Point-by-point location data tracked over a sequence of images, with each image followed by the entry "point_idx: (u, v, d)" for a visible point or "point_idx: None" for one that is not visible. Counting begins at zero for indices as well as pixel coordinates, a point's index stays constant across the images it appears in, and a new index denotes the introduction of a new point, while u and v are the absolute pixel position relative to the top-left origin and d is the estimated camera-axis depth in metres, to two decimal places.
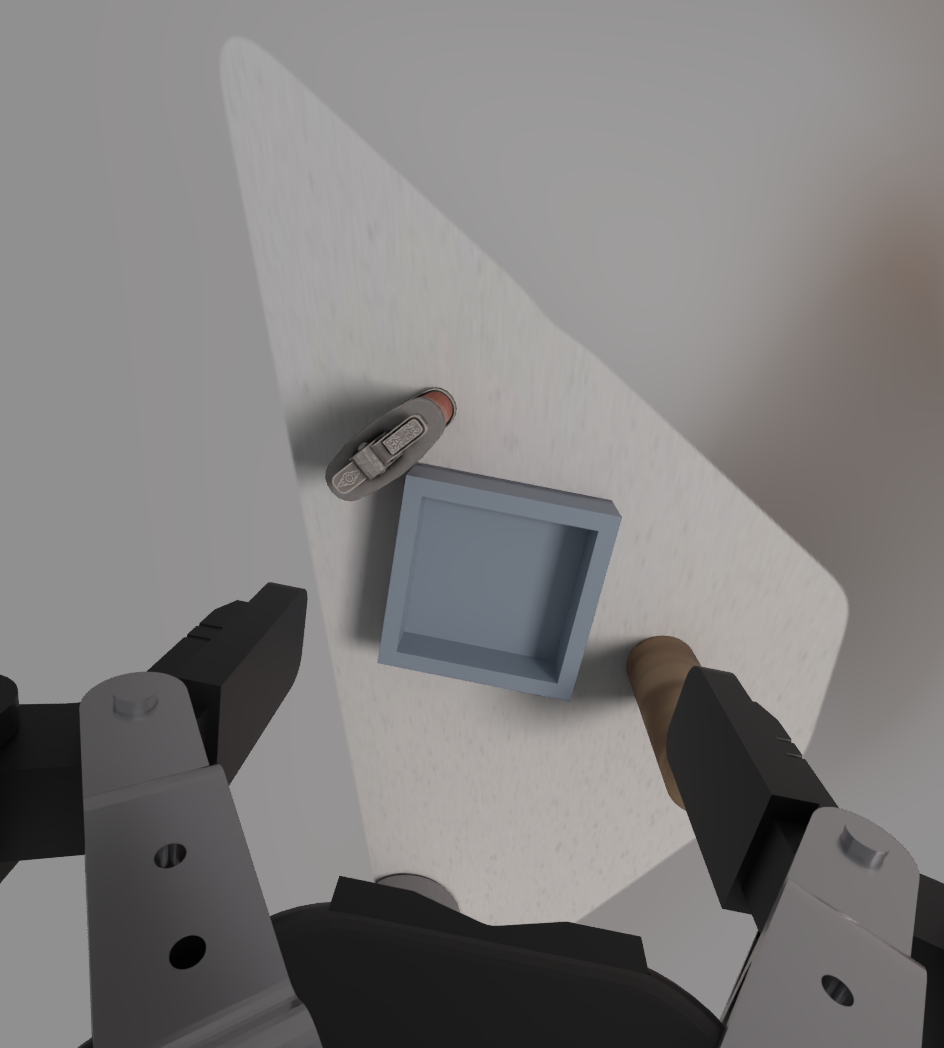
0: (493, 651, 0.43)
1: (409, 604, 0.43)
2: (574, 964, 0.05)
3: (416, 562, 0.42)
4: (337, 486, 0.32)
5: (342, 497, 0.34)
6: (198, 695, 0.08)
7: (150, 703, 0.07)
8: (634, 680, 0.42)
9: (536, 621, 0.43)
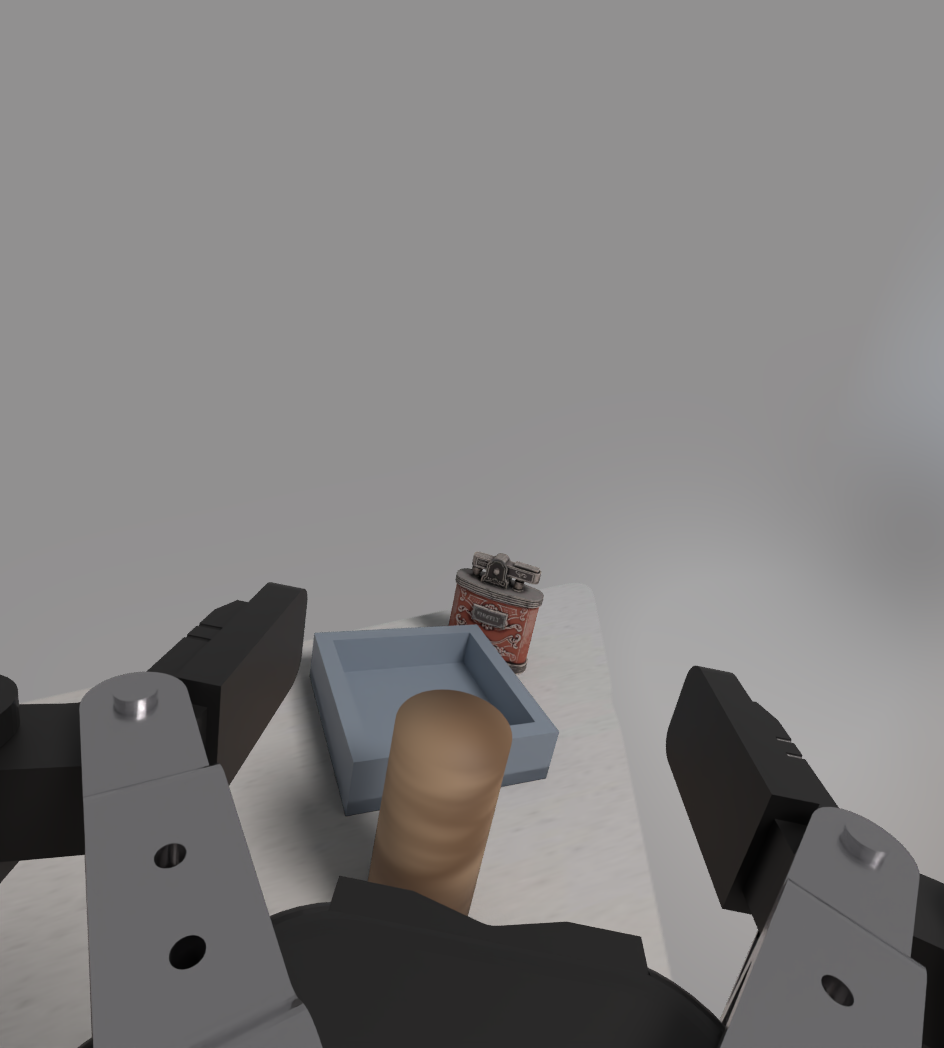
0: None
1: (358, 671, 0.46)
2: (574, 964, 0.05)
3: (399, 668, 0.48)
4: (476, 553, 0.52)
5: (458, 574, 0.52)
6: (198, 695, 0.08)
7: (150, 703, 0.07)
8: None
9: None
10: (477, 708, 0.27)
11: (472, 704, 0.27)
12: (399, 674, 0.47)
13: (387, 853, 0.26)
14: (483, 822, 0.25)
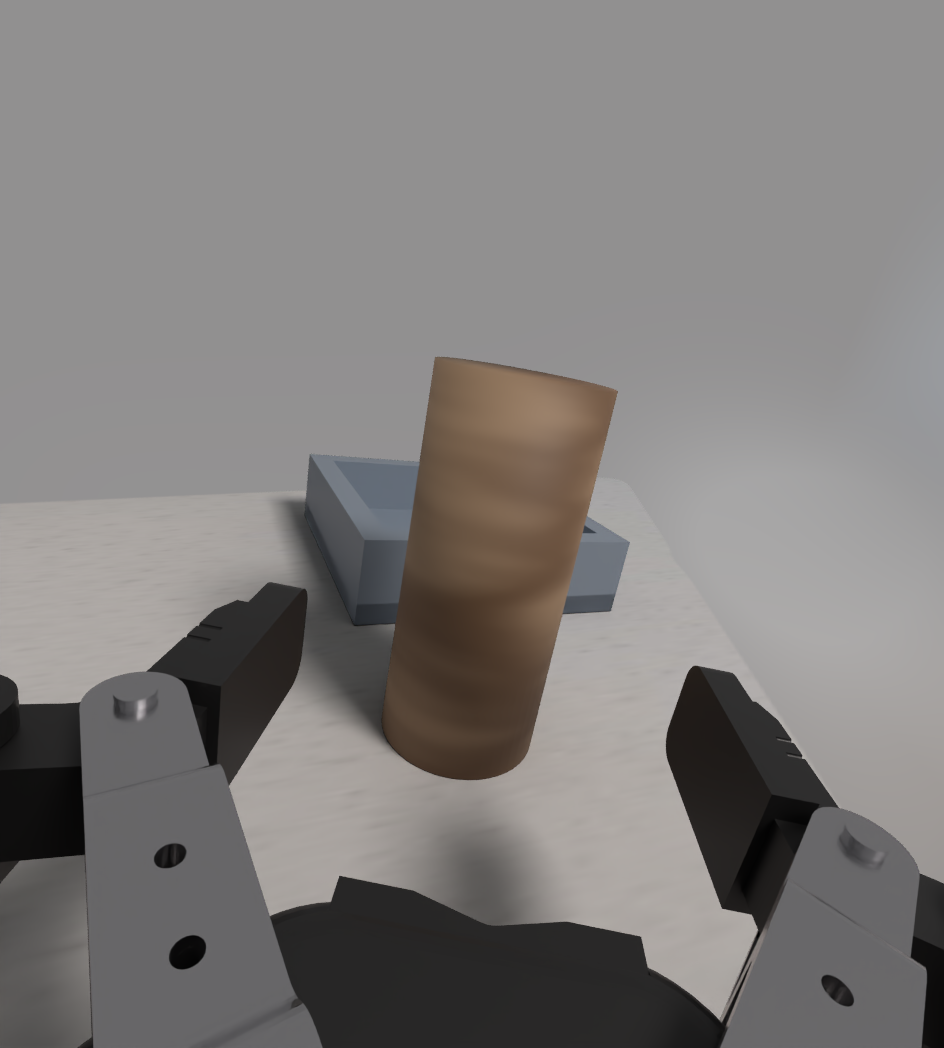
0: None
1: None
2: (573, 964, 0.05)
3: None
4: None
5: None
6: (198, 695, 0.08)
7: (149, 703, 0.07)
8: None
9: None
10: (554, 376, 0.18)
11: (546, 374, 0.18)
12: None
13: (423, 576, 0.16)
14: (575, 513, 0.16)
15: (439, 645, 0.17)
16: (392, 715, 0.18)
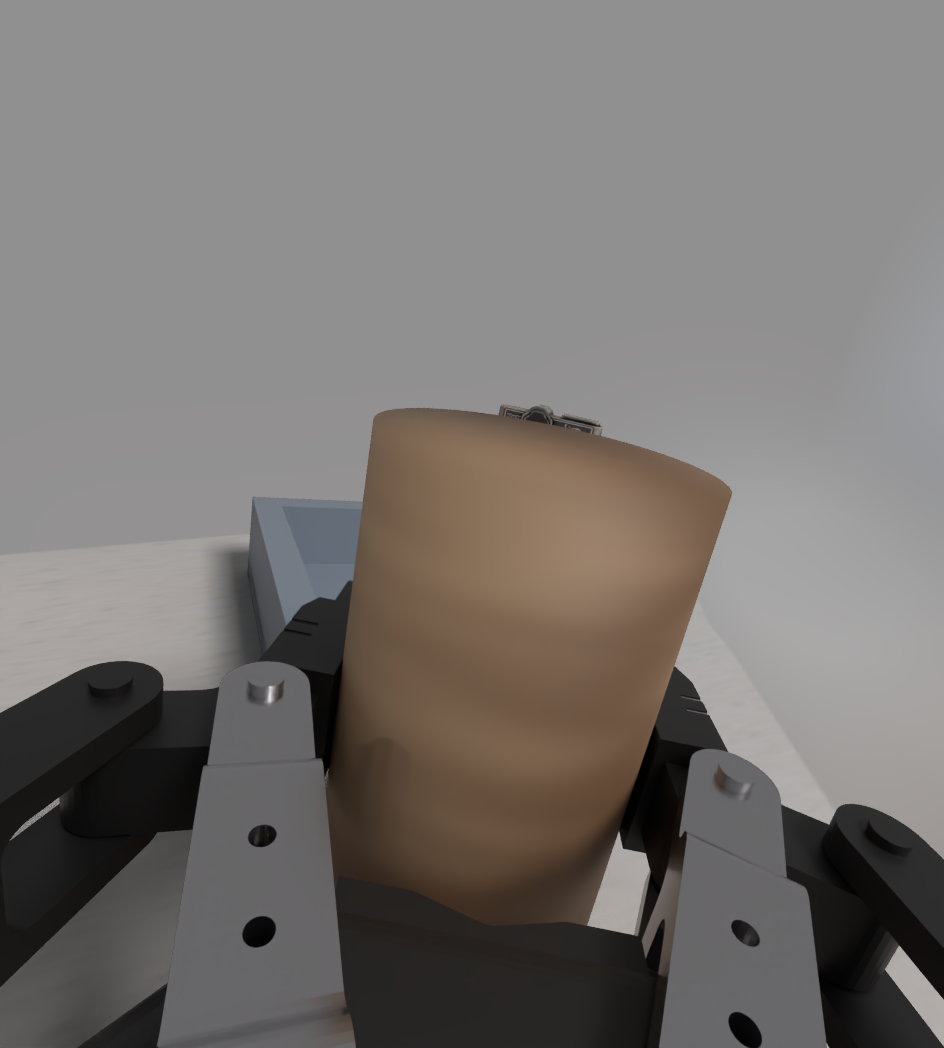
0: None
1: (324, 564, 0.29)
2: (574, 965, 0.05)
3: None
4: (503, 404, 0.35)
5: None
6: (312, 683, 0.09)
7: (276, 691, 0.08)
8: None
9: None
10: (596, 440, 0.10)
11: (580, 436, 0.10)
12: None
13: (352, 828, 0.09)
14: (646, 726, 0.08)
15: None
16: None
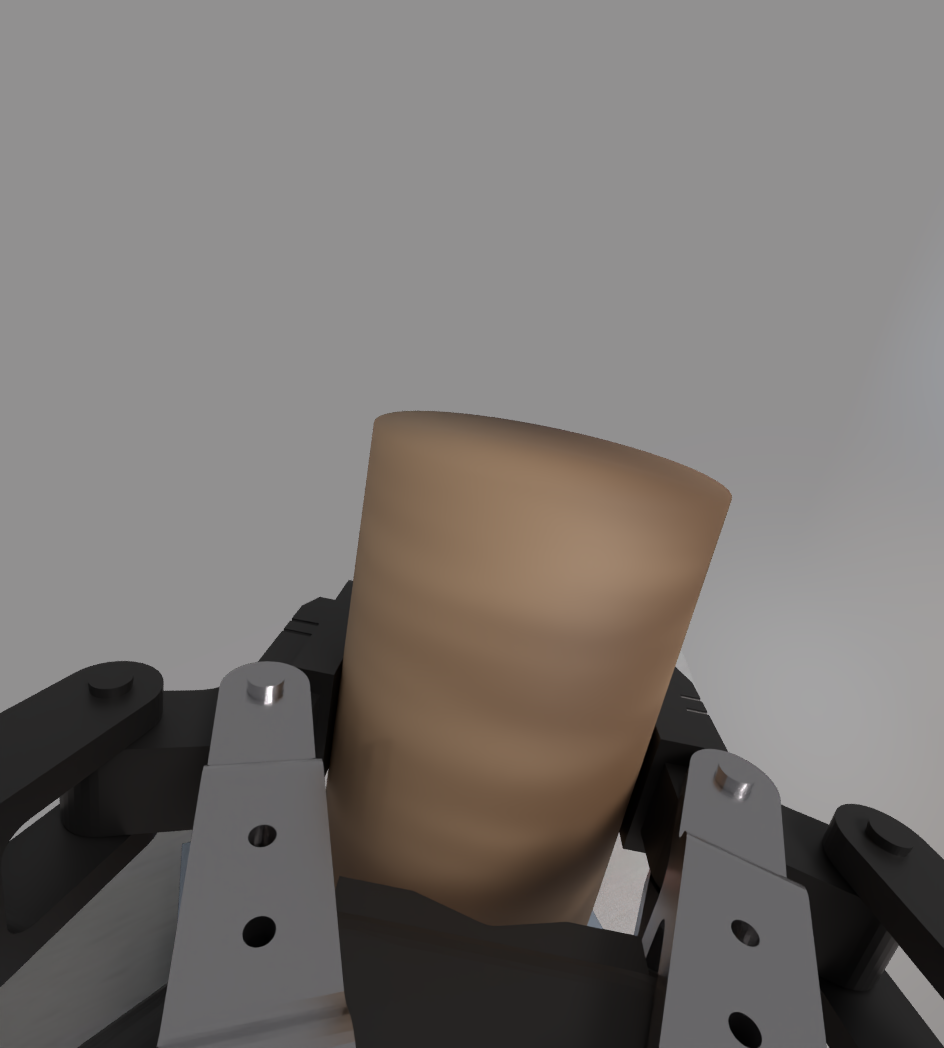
0: None
1: None
2: (574, 964, 0.05)
3: None
4: None
5: None
6: (312, 683, 0.09)
7: (275, 691, 0.08)
8: None
9: None
10: (596, 443, 0.10)
11: (580, 439, 0.10)
12: None
13: (352, 831, 0.09)
14: (646, 729, 0.08)
15: None
16: None
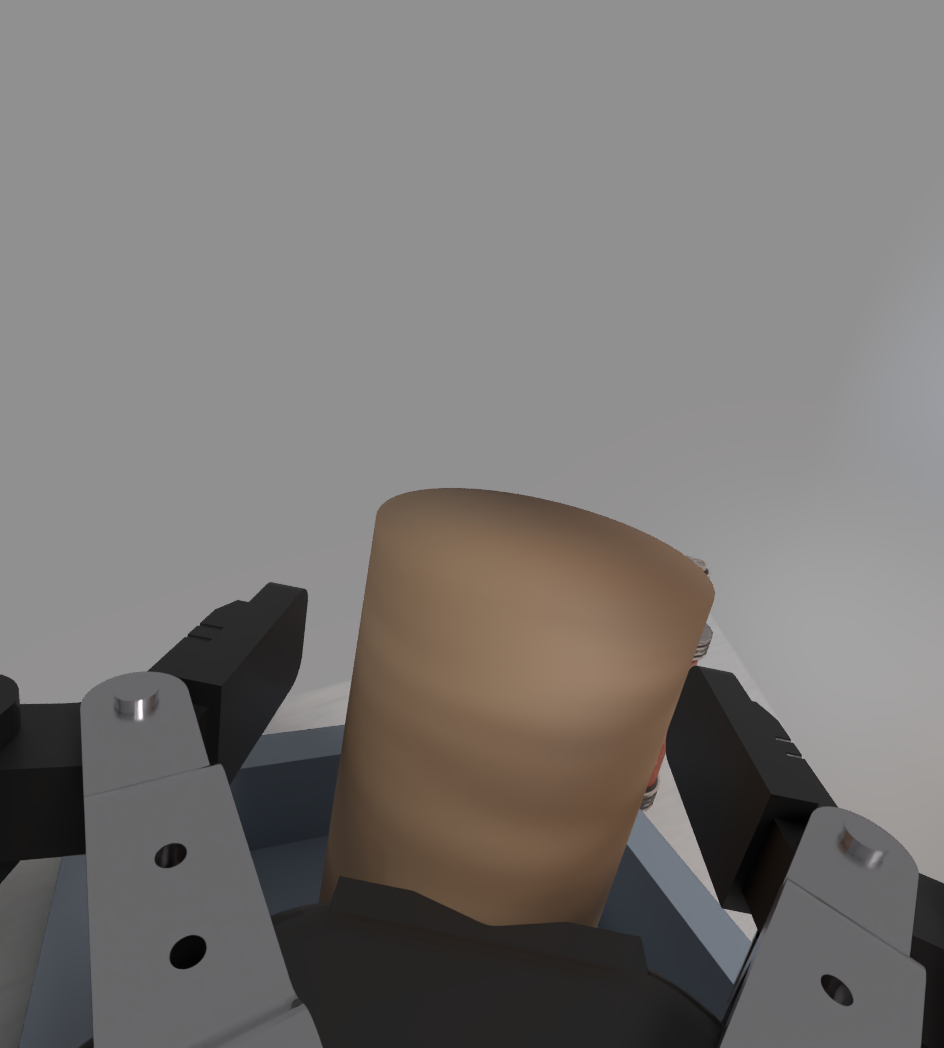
0: None
1: None
2: (574, 965, 0.05)
3: None
4: None
5: None
6: (199, 694, 0.08)
7: (150, 703, 0.07)
8: None
9: None
10: (588, 522, 0.11)
11: (573, 516, 0.11)
12: None
13: None
14: (632, 811, 0.09)
15: None
16: None
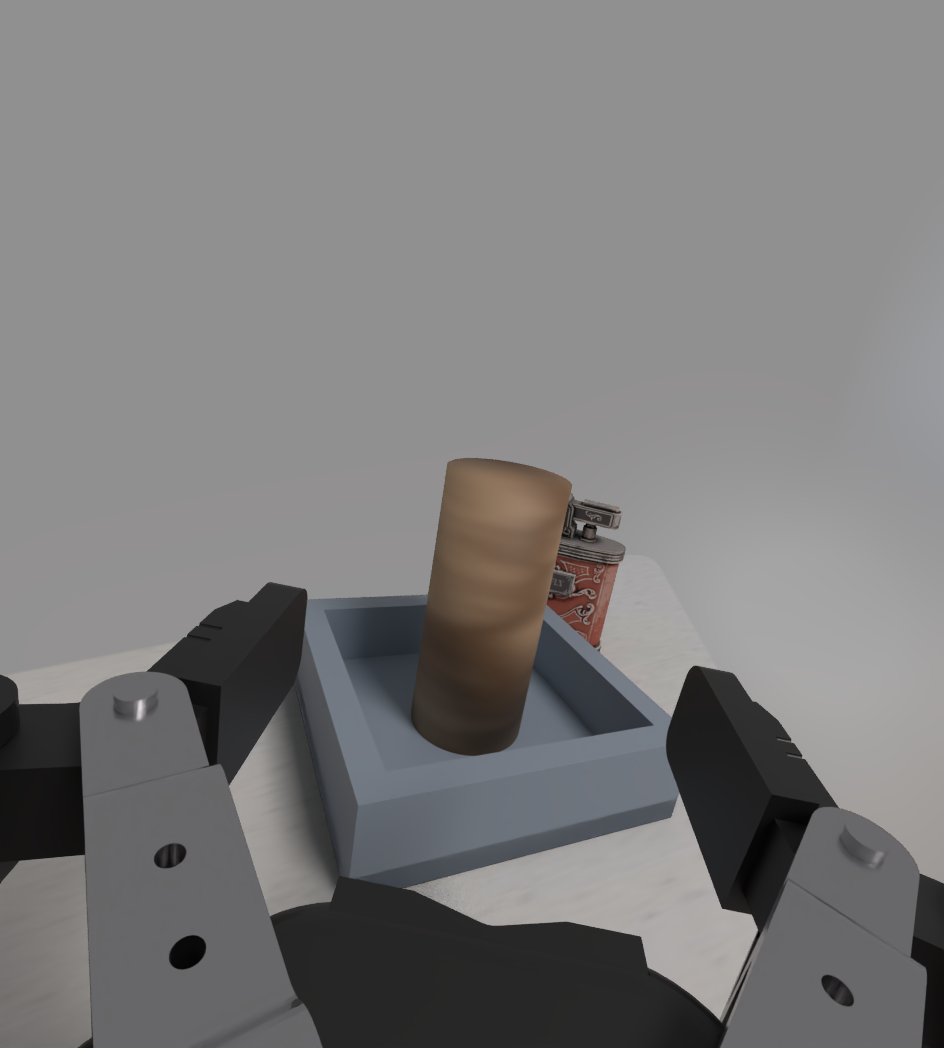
0: None
1: (363, 658, 0.31)
2: (574, 965, 0.05)
3: None
4: None
5: None
6: (198, 695, 0.08)
7: (150, 703, 0.07)
8: None
9: None
10: (530, 469, 0.25)
11: (525, 468, 0.26)
12: None
13: (441, 613, 0.24)
14: (544, 570, 0.23)
15: (452, 661, 0.24)
16: (419, 711, 0.26)
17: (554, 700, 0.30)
